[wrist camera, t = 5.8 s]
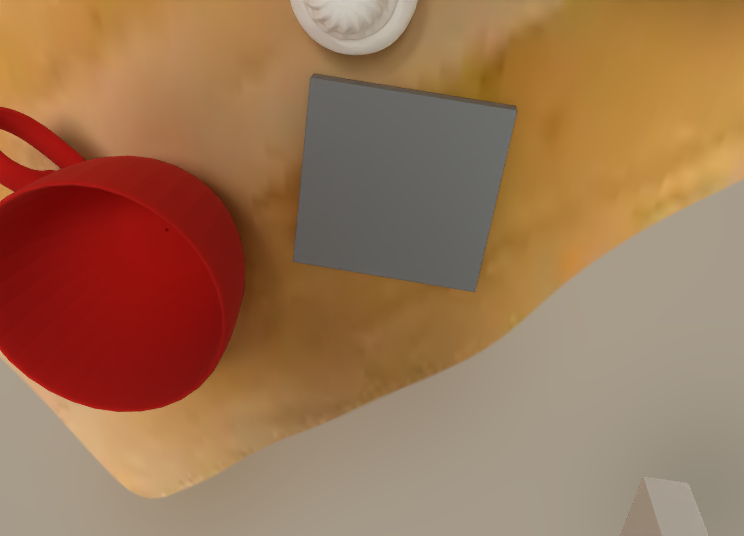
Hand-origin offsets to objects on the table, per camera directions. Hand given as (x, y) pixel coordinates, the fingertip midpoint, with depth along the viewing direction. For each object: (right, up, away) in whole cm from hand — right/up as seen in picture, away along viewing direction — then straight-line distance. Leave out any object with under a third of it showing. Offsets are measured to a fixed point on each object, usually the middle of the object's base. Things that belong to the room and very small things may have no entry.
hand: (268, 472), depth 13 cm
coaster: (+3, +8, +27) cm, 29 cm away
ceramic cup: (-12, +8, +30) cm, 33 cm away
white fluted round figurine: (+1, +18, +23) cm, 29 cm away
